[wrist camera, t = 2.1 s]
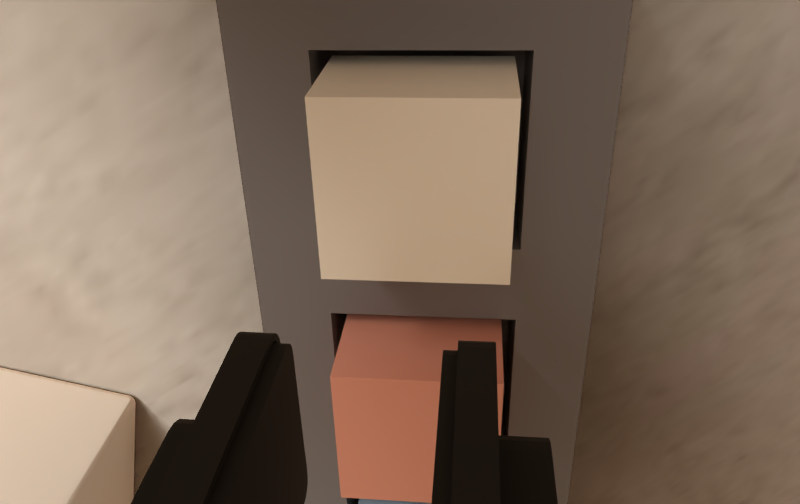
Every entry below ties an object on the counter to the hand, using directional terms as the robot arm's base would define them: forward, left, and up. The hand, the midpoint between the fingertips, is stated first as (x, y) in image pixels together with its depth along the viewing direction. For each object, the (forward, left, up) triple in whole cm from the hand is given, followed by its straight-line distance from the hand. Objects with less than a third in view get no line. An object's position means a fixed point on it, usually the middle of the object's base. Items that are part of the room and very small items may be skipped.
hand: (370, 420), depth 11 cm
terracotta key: (+8, 0, -11) cm, 14 cm away
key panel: (+8, 0, -15) cm, 17 cm away
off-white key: (0, 0, -11) cm, 11 cm away
